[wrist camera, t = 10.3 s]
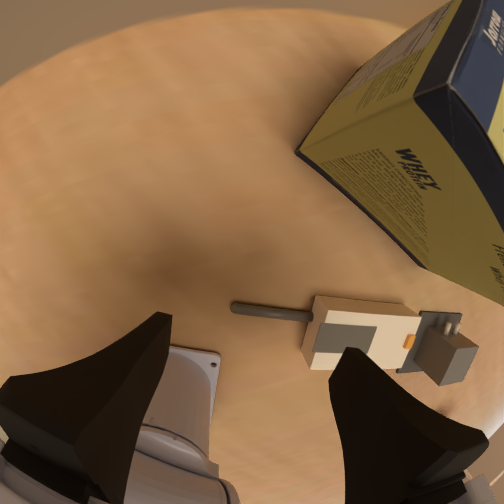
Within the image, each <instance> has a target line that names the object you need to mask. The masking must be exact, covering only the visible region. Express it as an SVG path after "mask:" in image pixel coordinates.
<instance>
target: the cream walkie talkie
mask: <svg viewBox="0 0 504 504" xmlns="http://www.w3.org/2000/svg"><path fill="white" fill-rule="evenodd" d="M231 311H232V312H233V313H235V314H242V315H249V316H257V317H266V318H274V319H283V320H292V321H302V322H308V326H307V329H306V333H305V336H304V340H303V343H302V346H301V352H302V354H303V356H304V358H305V360H306V362H307V364H308V367H309V369H311V370H334V369H335V367H336V365H337V364H338V362H339V360H340V358H341V356H342V354H343V352H344V350H345V348H346V347H354V348H359V349H360V350H362V351H363V352H364V353H365V354H366V355H367V356H368V357H370V358H371V359H372V360H373V361H374V362H375V363H376V364H377V365H378V366H379V367H380V368H381V369H394V368H402V365H403V363H404V361H405V359H406V356H407V354H408V352H409V349H411V347H412V345H413V343H414V340H415V338H416V336H415V334H416V332H417V329H418V326H419V324H420V321H421V318H422V317H421V316H419V315H418V314H417V313H415V312H414V311H412V310H411V309H409V308H408V307H406V306H405V305H404V304H393V303H383V302H373V301H363V300H354V299H345V298H337V297H328V296H320V295H316V296H315V300H314V304H313V307H312V311H311V312H305V311H296V310H287V309H278V308H270V307H262V306H255V305H247V304H240V303H234V304H232V305H231Z"/></svg>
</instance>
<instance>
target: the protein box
mask: <svg viewBox="0 0 504 504" xmlns="http://www.w3.org/2000/svg"><path fill="white" fill-rule="evenodd" d="M295 154H296V155H297V156H298V157H300V158H301V159H302V160H304V161H305V162H306V163H307V164H309V165H310V166H311V167H312V168H314V169H315V170H316V171H317V172H319V173H320V174H321V175H322V176H323V177H324V178H326V179H327V180H328V181H329V182H330V183H332V184H333V185H334V186H335V187H336V188H337V189H339V190H340V191H341V192H342V193H343V194H344V195H345V196H346V197H348V198H349V199H350V200H351V201H352V202H353V203H354V204H356V205H357V206H358V207H359V208H360V209H361V210H362V211H363V212H364V213H366V214H367V215H368V216H369V217H370V218H371V219H372V220H373V221H374V222H375V223H376V224H377V225H378V226H379V227H381V228H382V229H383V230H384V231H385V232H386V233H387V234H388V235H389V236H390V237H391V238H392V239H393V240H394V241H395V242H396V243H397V244H398V245H399V246H400V247H401V248H402V249H403V250H404V251H405V252H406V253H407V254H408V255H409V256H410V257H411V258H412V259H413V260H414V261H415V263H416V264H417V265H418V266H420V267H422V268H424V269H426V270H429V271H431V272H433V273H435V274H437V275H440V276H442V277H444V278H446V279H448V280H450V281H452V282H455V283H457V284H459V285H461V286H463V287H465V288H467V289H469V290H471V291H474V292H476V293H478V294H480V295H482V296H484V297H486V298H488V299H490V300H492V301H494V302H496V303H498V304H500V305H502V306H504V0H451V1H449V2H448V3H446V4H445V5H443V6H442V7H440V8H439V9H437V10H435V11H434V12H432V13H431V14H429V15H428V16H427V17H425V18H424V19H422V20H421V21H420V22H418V23H417V24H415V25H414V26H413V27H411V28H410V29H409V30H407V31H406V32H405V33H403V34H402V35H401V36H400V37H398V38H397V39H396V40H394V41H393V42H392V43H391V44H389V45H388V46H387V47H385V48H384V49H383V50H381V51H380V52H379V53H377V54H376V55H375V56H374V57H372V58H371V59H370V60H369V61H367V62H366V63H365V64H364V65H363V66H361V67H360V68H359V69H358V70H357V72H356V73H355V74H354V75H353V76H352V78H351V79H350V80H349V81H348V83H347V84H346V85H345V86H344V88H343V89H342V90H341V91H340V93H339V94H338V95H337V96H336V98H335V99H334V100H333V102H332V103H331V104H330V105H329V107H328V108H327V109H326V111H325V112H324V113H323V115H322V116H321V117H320V118H319V120H318V121H317V122H316V124H315V125H314V126H313V128H312V129H311V130H310V132H309V133H308V134H307V136H306V137H305V138H304V140H303V141H302V142H301V144H300V145H299V146H298V148H297V149H296V150H295Z"/></svg>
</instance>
